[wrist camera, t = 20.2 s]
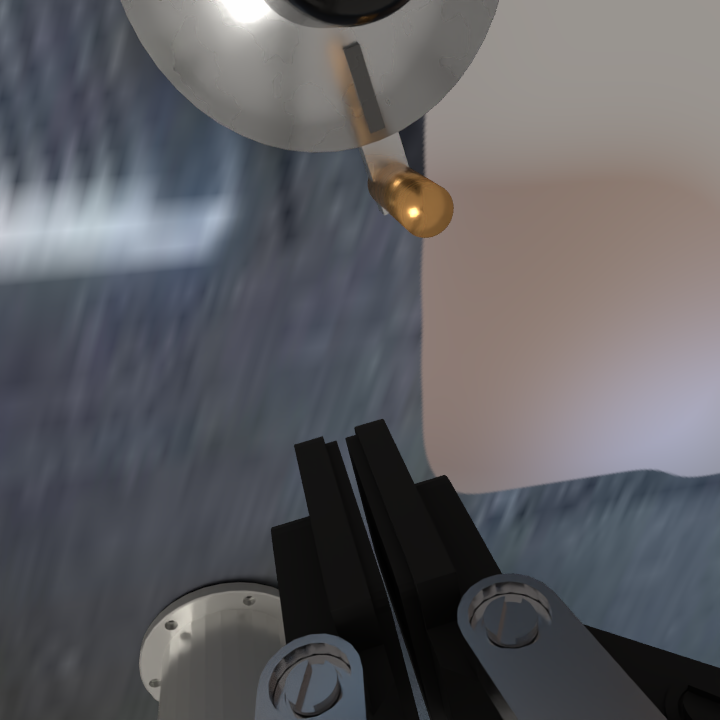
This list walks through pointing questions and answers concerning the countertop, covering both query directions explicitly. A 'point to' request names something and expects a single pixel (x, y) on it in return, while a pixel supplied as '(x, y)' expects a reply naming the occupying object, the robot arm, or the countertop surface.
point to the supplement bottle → (335, 11)
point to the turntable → (322, 81)
